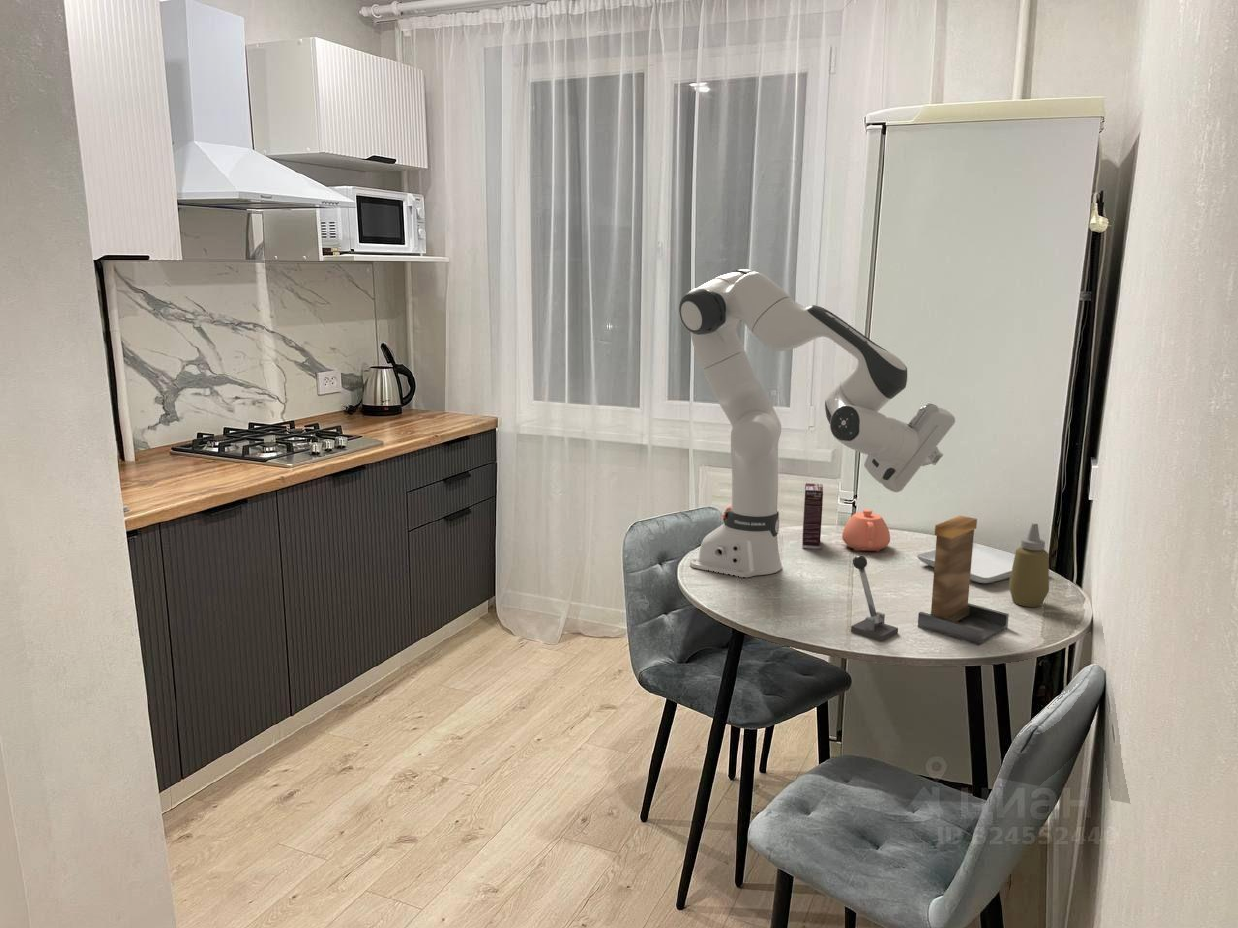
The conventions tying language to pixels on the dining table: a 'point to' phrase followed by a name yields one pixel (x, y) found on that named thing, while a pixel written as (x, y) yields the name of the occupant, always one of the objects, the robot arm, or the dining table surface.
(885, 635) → the lever base
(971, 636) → the paddle track
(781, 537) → the dining table surface
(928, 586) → the dining table surface
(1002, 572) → the salad plate
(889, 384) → the robot arm
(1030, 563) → the squeeze bottle
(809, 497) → the supplement box
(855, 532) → the sugar bowl
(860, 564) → the toggle lever
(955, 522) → the walnut paddle
